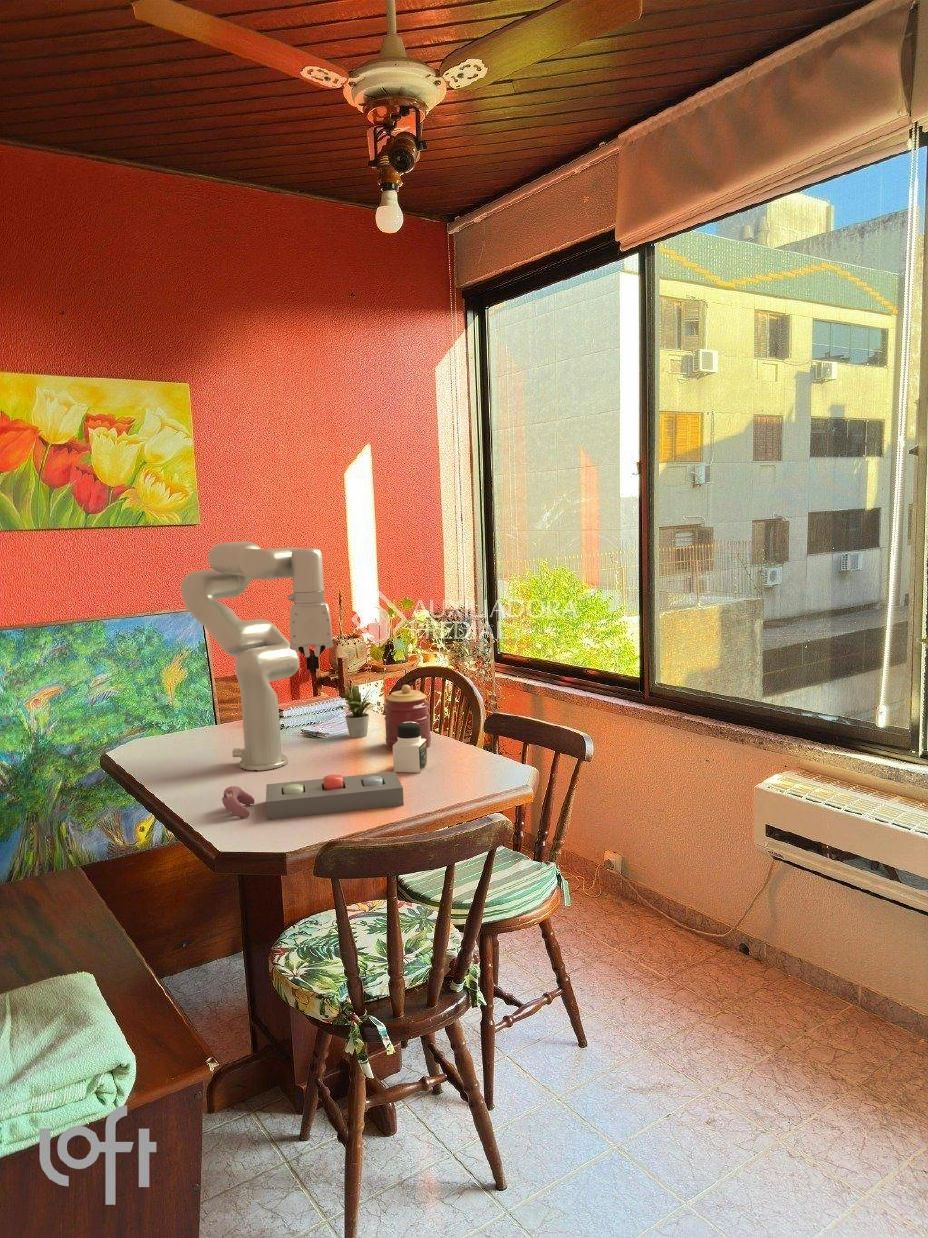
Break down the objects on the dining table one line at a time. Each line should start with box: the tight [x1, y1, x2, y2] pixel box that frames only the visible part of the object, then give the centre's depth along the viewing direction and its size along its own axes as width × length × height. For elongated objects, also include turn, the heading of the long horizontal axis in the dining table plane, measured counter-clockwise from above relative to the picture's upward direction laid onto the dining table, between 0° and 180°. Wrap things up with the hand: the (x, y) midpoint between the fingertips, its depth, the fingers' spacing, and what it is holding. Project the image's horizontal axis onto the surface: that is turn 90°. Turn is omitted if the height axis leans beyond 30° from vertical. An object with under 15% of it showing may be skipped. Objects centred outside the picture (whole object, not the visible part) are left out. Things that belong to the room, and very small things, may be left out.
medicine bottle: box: [392, 722, 428, 774], centre depth 218 cm, size 7×7×12 cm
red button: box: [322, 774, 344, 790], centre depth 193 cm, size 4×4×3 cm
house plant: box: [333, 684, 377, 739], centre depth 255 cm, size 14×14×16 cm
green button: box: [283, 784, 304, 794], centre depth 192 cm, size 4×4×3 cm
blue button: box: [363, 776, 383, 786], centre depth 196 cm, size 4×4×3 cm
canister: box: [383, 684, 432, 751], centre depth 241 cm, size 13×13×18 cm
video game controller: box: [221, 784, 255, 818], centre depth 190 cm, size 10×5×7 cm, turn 6°
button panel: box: [265, 771, 405, 820], centre depth 194 cm, size 30×13×4 cm, turn 102°
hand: (313, 672), depth 211 cm, fingers closed
